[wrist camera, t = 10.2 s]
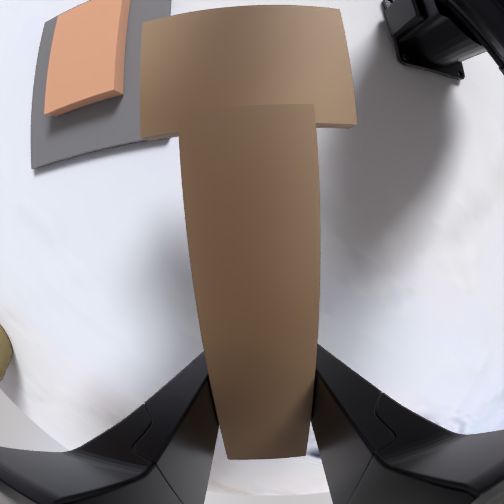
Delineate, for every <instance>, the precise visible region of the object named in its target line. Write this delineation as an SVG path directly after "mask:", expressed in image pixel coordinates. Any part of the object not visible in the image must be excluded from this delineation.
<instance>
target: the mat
mask: <svg viewBox="0 0 504 504" xmlns="http://www.w3.org/2000/svg"><path fill="white" fill-rule="evenodd" d="M89 1H91V0H89ZM87 2H88V1H87ZM85 3H86V2H85ZM83 4H84V3H83ZM80 5H81V4H80ZM78 6H79V5H78ZM76 7H77V6H76ZM74 8H75V7H74ZM72 9H73V8H72ZM70 10H71V9H70ZM68 11H69V10H68ZM66 12H67V11H66ZM64 13H65V12H64ZM170 13H171V0H131V1H130V8H129V15H128V24H127V33H126V45H125V59H124V82H123V95H119V96H116V97H112V98H109V99H105V100H102V101H99V102H95V103H92V104H89V105H86V106H83V107H80V108H77V109H75V110H72V111H69V112H66V113H64V114H61V115H58V116H56V117H54V116H49V115H44V107H45V93H46V82H47V73H48V65H49V59H50V52H51V46H52V41H53V36H54V31H55V27H56V22H57V18H58V16H59V15H58V16H56V17H54V18H53V19H51V20H49V21H47V22H45V25H44V29H43V33H42V38H41V42H40V47H39V52H38V58H37V64H36V71H35V79H34V87H33V98H32V112H31V168H32V169H36V168H39V167H42V166H45V165H48V164H51V163H55V162H58V161H61V160H65V159H68V158H72V157H75V156H79V155H83V154H87V153H90V152H94V151H99V150H103V149H107V148H111V147H116V146H120V145H125V144H130V143H135V142H140V141H146V140H145V139H141V136H140V54H141V37H142V24H143V22H147V21H151V20H155V19H159V18H164V17H168V16H170ZM62 14H63V13H62ZM60 15H61V14H60Z"/></svg>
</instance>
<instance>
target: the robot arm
mask: <svg viewBox="0 0 504 504" xmlns="http://www.w3.org/2000/svg"><path fill="white" fill-rule="evenodd" d="M389 1H390V2H391V3H390V2H389ZM383 4H384V7H385V14H386V18H387V21H388V25H389V29H390V32H391V36H392V37H393V40H394V44H395V48H396V53H397V58H398V60H399V62H400V63H402V64H404V65H407V66H412V67H416V68H420V69H424V70H428V71H431V72H435V73H438V74H442V75H445V76H448V77H451V78H454V79H457V80H462V79H464V77H465V75H464V70H463V66H462V61H464V60H466V59H469V58H471V57H474V56H476V55H479V54H481V53H484V52H488V53H489V54H490V56H491V57H492V58H493V60H494V61H495V62H496V63H497V65H498V66H499V69H500V71H501V72H502V73H503V75H504V0H383ZM403 56H404V57H405V58H406V60H405V59H404V58H403ZM458 73H459V74H458ZM310 420H311V423H312V427H313V431H314V434H315V438H316V442H317V445H318V449H319V453H320V456H321V460H322V464H323V467H324V471H325V475H326V479H327V482H328V486H329V490H330V493H331V498H332V501H333V504H504V430H499V431H493V432H486V433H479V434H471V435H464V434H458V433H454V432H451V431H449V430H447V429H445V428H443V427H441V426H439V425H437V424H435V423H433V422H431V421H429V420H427V419H425V418H423V417H422V416H420V415H418V414H416V413H414V412H413V411H411V410H409V409H407V408H406V407H404V406H402V405H401V404H399V403H398V402H396V401H395V400H393V399H392V398H390V397H389V396H388V395H386V394H385V393H382V391H380V390H379V389H378V388H376V387H375V386H374V385H372V384H371V383H369V382H368V381H367V380H365V379H364V378H363V377H361V376H360V375H359V374H357V373H356V372H355V371H353V370H352V369H351V368H349V367H348V366H346V365H345V364H344V363H342V362H341V361H340V360H338V359H337V358H336V357H335V356H333V355H332V354H331V353H329V352H328V351H327V350H325V349H324V348H323V347H321V346H320V345H319V344H317V355H316V368H315V380H314V391H313V401H312V410H311V419H310ZM218 429H219V421H218V416H217V412H216V407H215V403H214V398H213V393H212V389H211V384H210V379H209V374H208V369H207V363H206V358H205V353H204V351H203V352H202V353H201V354H200V355H199V356H198V357H197V358H195V359H194V360H193V361H192V362H191V363H190V364H189V365H188V366H186V367H185V368H184V369H183V370H182V371H181V372H180V373H178V374H177V375H176V376H175V377H174V378H173V379H172V380H170V381H169V382H168V383H167V384H166V385H165V386H163V387H162V388H161V389H160V390H159V391H158V392H156V393H155V394H154V395H153V396H152V397H151V398H149V399H148V400H147V401H146V402H145V404H142V405H141V406H140V407H139V408H137V409H136V410H135V411H134V412H132V413H131V414H130V415H128V416H127V417H126V418H125V419H123V420H122V421H120V422H119V423H117V424H116V425H114V426H113V427H111V428H110V429H108V430H107V431H105V432H104V433H102V434H100V435H99V436H97V437H95V438H94V439H92V440H91V441H89V442H87V443H86V444H84V445H82V446H80V447H78V448H76V449H74V450H71V451H67V452H41V451H29V450H20V449H12V448H5V447H0V504H204V500H205V495H206V490H207V485H208V480H209V475H210V470H211V464H212V459H213V454H214V449H215V444H216V439H217V434H218Z"/></svg>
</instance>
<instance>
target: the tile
mask: <svg viewBox="0 0 504 504" xmlns="http://www.w3.org/2000/svg"><path fill="white" fill-rule="evenodd" d="M130 1H131V0H91V1H88V2H86V3H84V4H81V5H79V6H77V7H75V8H73V9H71V10H69V11H67V12H65V13H63V14H61V15H59V16H58V18H57V22H56V27H55V31H54V36H53V41H52V46H51V52H50V59H49V65H48V73H47V82H46V93H45V107H44V115H49V116H54V117H56V116H58V115H61V114H64V113H66V112H69V111H72V110H75V109H77V108H80V107H83V106H86V105H89V104H92V103H95V102H99V101H102V100H105V99H109V98H112V97H116V96H119V95H123V82H124V59H125V45H126V33H127V24H128V15H129V8H130Z"/></svg>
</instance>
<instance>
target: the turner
mask: <svg viewBox="0 0 504 504" xmlns="http://www.w3.org/2000/svg"><path fill="white" fill-rule="evenodd" d="M355 125H357V114H356V104H355V95H354V87H353V79H352V72H351V66H350V59H349V53H348V48H347V42H346V37H345V32H344V27H343V22H342V17H341V13H340V9H334V8H325V7H313V6H297V5H253V6H236V7H225V8H216V9H208V10H201V11H194V12H189V13H183V14H178V15H173V16H168V17H164V18H159V19H155V20H151V21H147V22H143V24H142V37H141V54H140V136H141V139H145V140H149V141H152V140H158V139H165V138H171V137H178V136H179V148H180V163H181V177H182V189H183V200H184V211H185V220H186V230H187V239H188V247H189V255H190V263H191V271H192V278H193V285H194V292H195V299H196V305H197V312H198V318H199V324H200V330H201V336H202V342H203V347H204V353H205V358H206V363H207V369H208V374H209V379H210V384H211V389H212V393H213V398H214V403H215V407H216V412H217V416H218V421H219V425H220V429H221V433H222V438H223V442H224V446H225V450H226V454H227V457H228V459H231V460H249V459H275V458H289V457H300V456H306V450H307V443H308V435H309V427H310V419H311V410H312V401H313V391H314V380H315V368H316V355H317V340H318V321H319V297H320V191H319V167H318V149H317V134H316V127H318V128H351V127H353V126H355Z"/></svg>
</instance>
